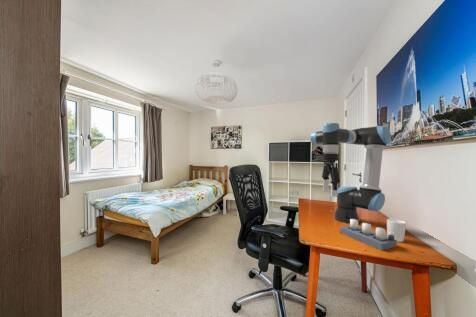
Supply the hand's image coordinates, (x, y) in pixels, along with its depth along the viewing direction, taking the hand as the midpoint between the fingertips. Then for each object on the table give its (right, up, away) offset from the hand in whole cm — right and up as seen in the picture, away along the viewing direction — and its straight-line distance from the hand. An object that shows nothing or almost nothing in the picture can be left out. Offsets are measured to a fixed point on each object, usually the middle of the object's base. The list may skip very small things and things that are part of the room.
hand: (329, 193), depth 100 cm
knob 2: (+23, -22, -4) cm, 32 cm away
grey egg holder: (+21, -25, +2) cm, 32 cm away
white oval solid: (+21, -22, +2) cm, 30 cm away
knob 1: (+18, -22, +9) cm, 29 cm away
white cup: (+37, -25, +3) cm, 45 cm away
